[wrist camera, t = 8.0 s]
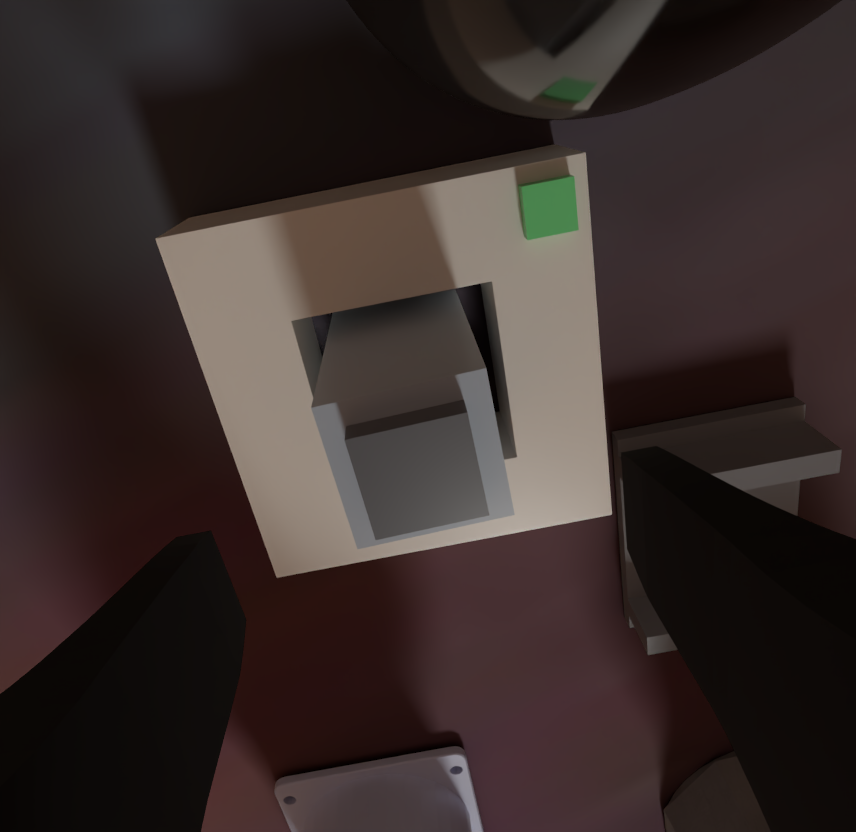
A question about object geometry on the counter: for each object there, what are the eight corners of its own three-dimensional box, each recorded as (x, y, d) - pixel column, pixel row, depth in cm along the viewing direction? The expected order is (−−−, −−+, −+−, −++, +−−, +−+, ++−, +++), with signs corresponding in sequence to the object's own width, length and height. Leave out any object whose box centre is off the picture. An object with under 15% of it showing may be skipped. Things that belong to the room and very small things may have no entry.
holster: (782, 587, 25) (822, 636, 23) (624, 616, 25) (648, 667, 23) (795, 396, 21) (843, 431, 19) (611, 431, 22) (638, 470, 19)
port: (583, 463, 22) (616, 522, 19) (289, 519, 22) (274, 586, 19) (554, 144, 18) (590, 154, 15) (189, 217, 18) (149, 242, 15)
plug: (473, 388, 21) (519, 530, 14) (364, 413, 21) (357, 566, 14) (451, 279, 19) (490, 379, 12) (333, 307, 19) (308, 421, 12)
